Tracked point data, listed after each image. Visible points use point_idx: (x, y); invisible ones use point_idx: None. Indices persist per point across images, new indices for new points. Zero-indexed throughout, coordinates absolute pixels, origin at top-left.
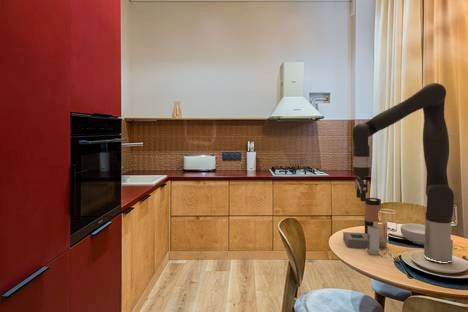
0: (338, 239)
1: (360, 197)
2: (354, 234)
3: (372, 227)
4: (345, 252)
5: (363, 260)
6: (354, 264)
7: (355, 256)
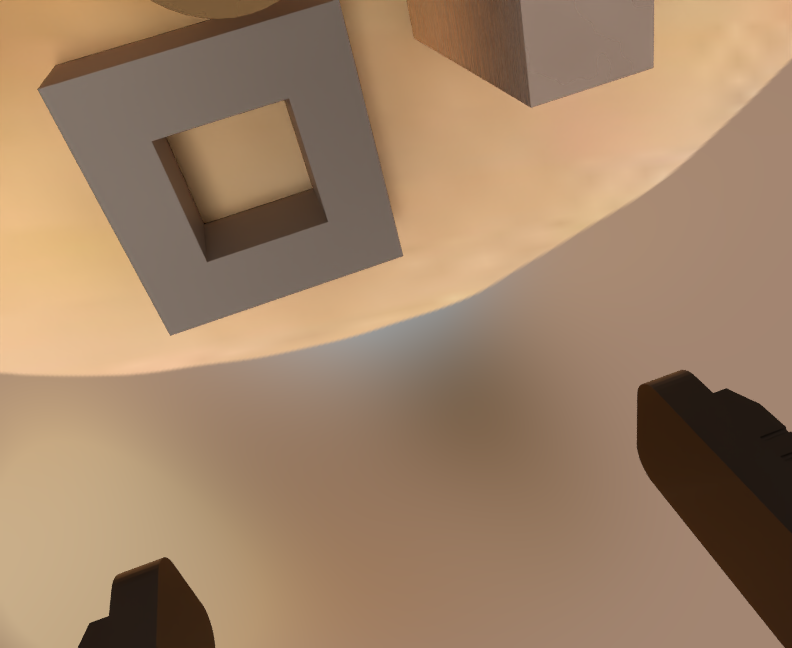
0: None
1: (172, 567)
2: (186, 218)
3: (588, 34)
4: (500, 217)
5: None
6: (714, 124)
7: (565, 132)
